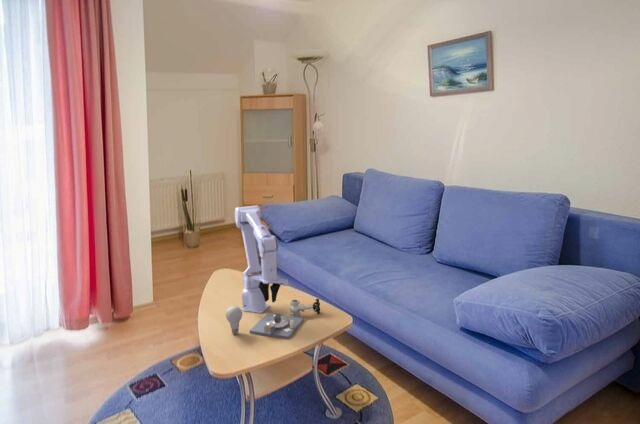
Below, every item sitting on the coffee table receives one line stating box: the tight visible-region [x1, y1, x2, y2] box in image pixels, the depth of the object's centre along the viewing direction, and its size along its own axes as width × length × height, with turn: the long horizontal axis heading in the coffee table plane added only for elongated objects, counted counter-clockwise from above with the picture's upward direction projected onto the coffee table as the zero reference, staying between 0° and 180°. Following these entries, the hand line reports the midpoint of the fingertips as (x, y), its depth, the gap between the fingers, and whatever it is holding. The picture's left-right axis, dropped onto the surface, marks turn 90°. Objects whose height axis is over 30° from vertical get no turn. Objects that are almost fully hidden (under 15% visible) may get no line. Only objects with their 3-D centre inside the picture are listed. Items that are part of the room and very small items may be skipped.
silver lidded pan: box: [264, 312, 289, 334], centre depth 174 cm, size 14×9×4 cm, turn 161°
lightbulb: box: [225, 305, 243, 335], centre depth 170 cm, size 6×6×11 cm
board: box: [249, 313, 305, 340], centre depth 176 cm, size 16×16×4 cm
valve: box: [289, 298, 321, 317], centre depth 186 cm, size 7×7×12 cm
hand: (270, 300), depth 176 cm, fingers open, 2 cm apart
